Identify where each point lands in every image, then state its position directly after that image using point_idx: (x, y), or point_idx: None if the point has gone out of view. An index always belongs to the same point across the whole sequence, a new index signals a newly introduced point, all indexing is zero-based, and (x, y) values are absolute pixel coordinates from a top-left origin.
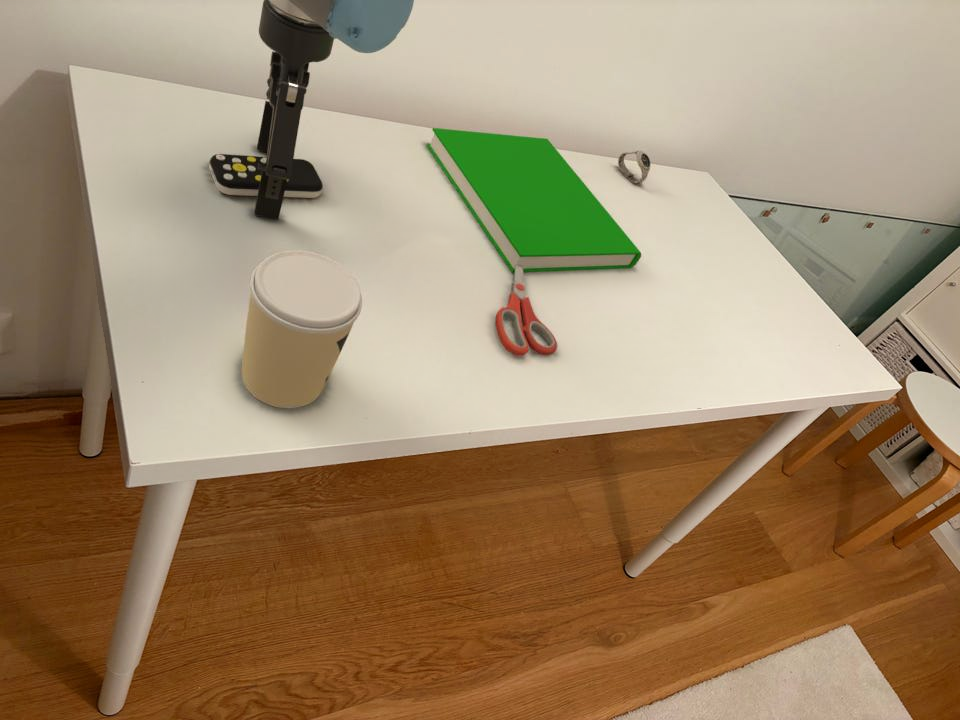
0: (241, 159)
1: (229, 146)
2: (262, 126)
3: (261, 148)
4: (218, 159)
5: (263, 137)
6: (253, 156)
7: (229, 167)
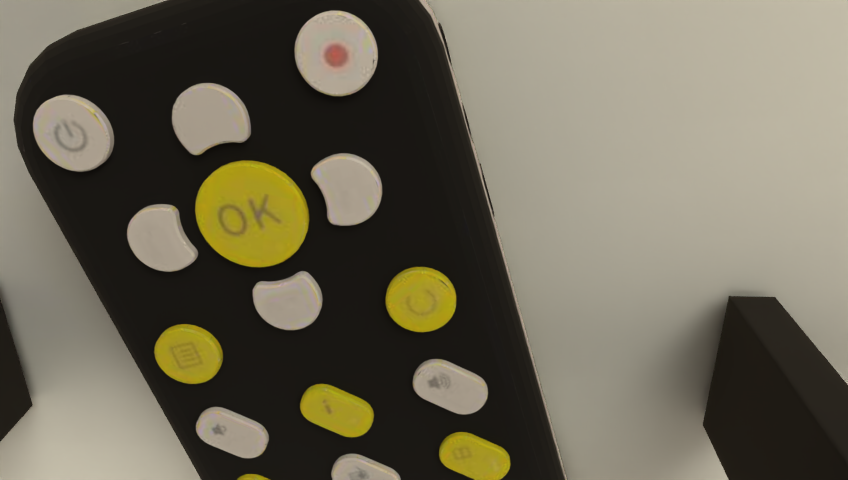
0: (393, 226)
1: (750, 97)
2: (826, 442)
3: (730, 332)
4: (299, 36)
5: (772, 391)
6: (477, 312)
7: (200, 139)
